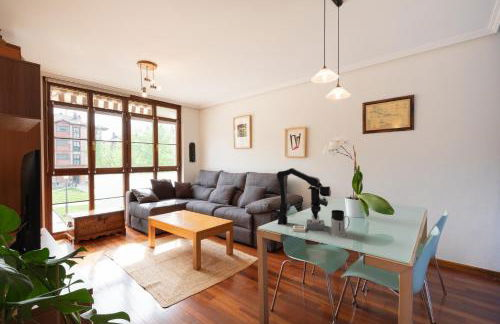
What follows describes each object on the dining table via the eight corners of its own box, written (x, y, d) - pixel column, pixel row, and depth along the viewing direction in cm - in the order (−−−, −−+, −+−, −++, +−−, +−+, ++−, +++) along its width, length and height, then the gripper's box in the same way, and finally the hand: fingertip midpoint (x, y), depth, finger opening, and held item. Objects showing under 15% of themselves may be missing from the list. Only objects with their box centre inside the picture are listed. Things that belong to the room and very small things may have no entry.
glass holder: (338, 231, 156) (338, 209, 156) (355, 238, 143) (354, 213, 142) (327, 233, 153) (327, 210, 153) (343, 240, 140) (343, 215, 139)
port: (306, 229, 161) (306, 223, 161) (306, 224, 173) (306, 218, 173) (325, 230, 159) (324, 223, 158) (323, 225, 170) (323, 219, 170)
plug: (311, 228, 165) (311, 215, 165) (311, 226, 168) (311, 214, 168) (319, 228, 164) (319, 215, 163) (319, 227, 167) (318, 214, 167)
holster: (293, 231, 158) (292, 228, 158) (293, 228, 165) (293, 225, 165) (305, 232, 156) (305, 229, 156) (305, 229, 163) (305, 226, 163)
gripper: (328, 198, 154) (328, 221, 155) (326, 193, 172) (326, 214, 173) (310, 197, 157) (311, 221, 157) (310, 193, 175) (310, 214, 175)
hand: (315, 217), depth 166 cm, fingers open, 9 cm apart
